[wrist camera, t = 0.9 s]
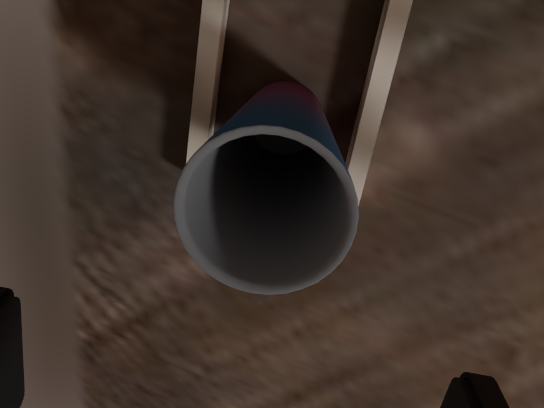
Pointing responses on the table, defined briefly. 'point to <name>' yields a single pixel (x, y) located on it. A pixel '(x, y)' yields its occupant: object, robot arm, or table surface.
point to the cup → (268, 196)
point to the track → (372, 95)
